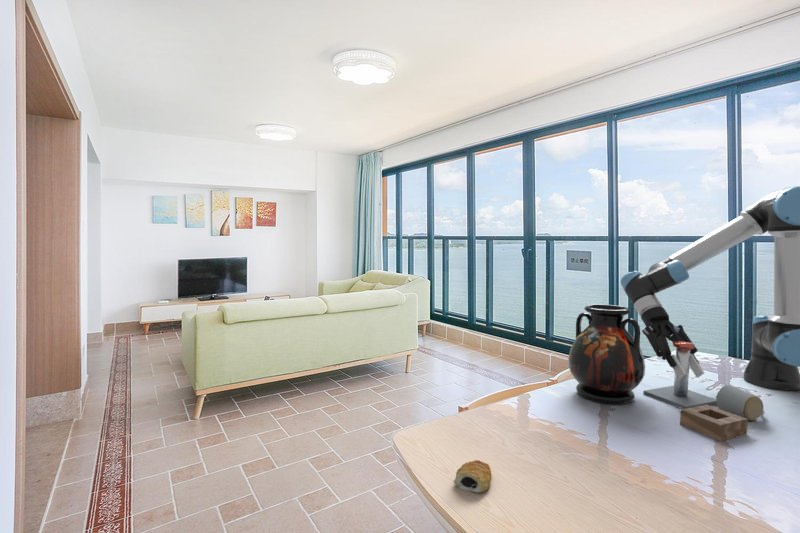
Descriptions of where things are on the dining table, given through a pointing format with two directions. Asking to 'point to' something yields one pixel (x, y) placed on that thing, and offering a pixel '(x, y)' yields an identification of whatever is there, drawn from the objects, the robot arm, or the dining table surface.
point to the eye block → (713, 422)
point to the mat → (682, 402)
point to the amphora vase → (606, 355)
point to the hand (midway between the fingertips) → (691, 375)
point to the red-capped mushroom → (684, 360)
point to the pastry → (473, 477)
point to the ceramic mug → (739, 402)
